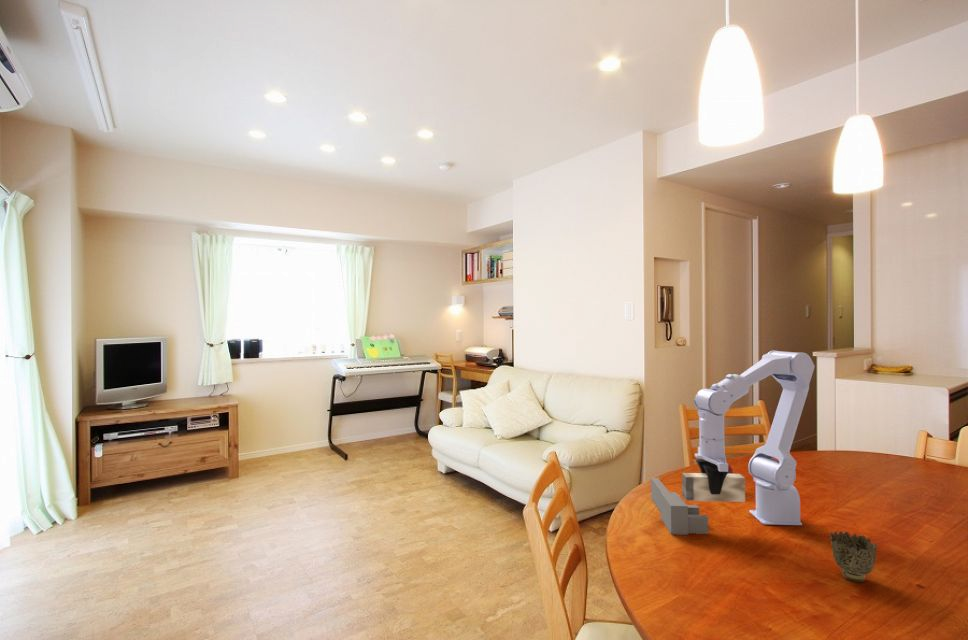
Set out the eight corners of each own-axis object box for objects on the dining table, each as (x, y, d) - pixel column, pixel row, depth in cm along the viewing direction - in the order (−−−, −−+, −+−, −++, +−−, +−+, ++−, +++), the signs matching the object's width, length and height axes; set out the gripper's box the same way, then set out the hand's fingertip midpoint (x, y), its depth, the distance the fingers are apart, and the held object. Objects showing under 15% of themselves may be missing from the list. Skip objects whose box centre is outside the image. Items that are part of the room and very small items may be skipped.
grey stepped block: (679, 498, 137) (679, 474, 137) (709, 535, 115) (709, 506, 115) (647, 498, 138) (647, 474, 138) (671, 534, 115) (670, 505, 115)
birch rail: (739, 497, 120) (739, 473, 120) (745, 502, 117) (745, 477, 117) (682, 496, 121) (682, 472, 121) (686, 500, 118) (685, 476, 118)
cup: (886, 591, 91) (885, 549, 91) (842, 587, 92) (842, 546, 92) (863, 570, 98) (863, 532, 98) (823, 567, 100) (823, 529, 99)
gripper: (685, 430, 126) (686, 480, 126) (706, 444, 112) (706, 502, 112) (713, 430, 126) (713, 481, 126) (737, 445, 111) (737, 502, 111)
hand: (712, 491), depth 119 cm, fingers closed on birch rail, 3 cm apart
